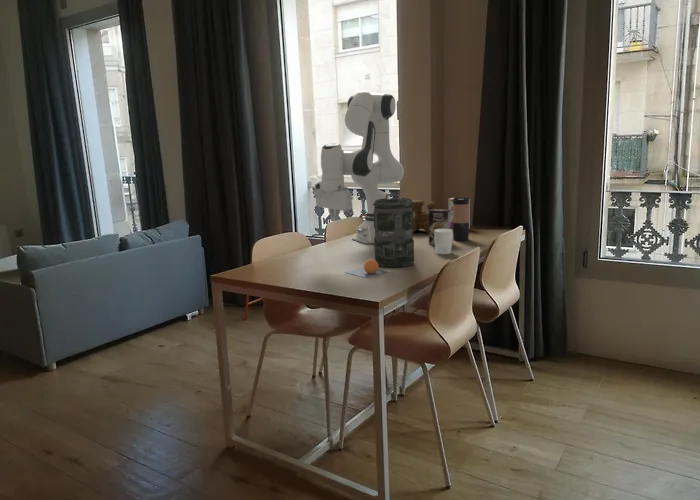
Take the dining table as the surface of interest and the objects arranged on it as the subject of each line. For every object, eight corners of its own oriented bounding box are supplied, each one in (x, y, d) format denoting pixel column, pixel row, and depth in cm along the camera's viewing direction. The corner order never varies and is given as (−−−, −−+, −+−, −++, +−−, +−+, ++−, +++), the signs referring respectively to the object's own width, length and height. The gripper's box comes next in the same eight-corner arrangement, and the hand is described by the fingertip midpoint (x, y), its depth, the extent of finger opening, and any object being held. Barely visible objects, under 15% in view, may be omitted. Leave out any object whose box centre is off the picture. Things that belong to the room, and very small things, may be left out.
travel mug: (469, 238, 261) (470, 197, 257) (468, 241, 254) (468, 199, 250) (454, 238, 264) (454, 197, 260) (451, 240, 257) (451, 199, 253)
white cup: (452, 254, 227) (452, 231, 225) (433, 254, 229) (433, 231, 227) (452, 251, 235) (452, 228, 233) (434, 251, 236) (434, 228, 234)
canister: (422, 262, 215) (421, 193, 210) (396, 270, 204) (395, 197, 199) (392, 257, 226) (390, 191, 221) (366, 264, 215) (364, 195, 210)
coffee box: (428, 244, 250) (428, 210, 247) (431, 242, 256) (431, 208, 253) (447, 245, 247) (447, 210, 244) (450, 242, 253) (450, 208, 250)
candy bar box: (447, 228, 291) (447, 198, 288) (452, 227, 295) (452, 197, 291) (465, 230, 284) (465, 199, 280) (470, 229, 287) (470, 198, 284)
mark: (344, 272, 204) (344, 271, 204) (368, 267, 211) (368, 266, 211) (364, 278, 195) (364, 277, 195) (389, 272, 202) (389, 271, 202)
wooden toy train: (400, 233, 284) (400, 202, 280) (407, 229, 294) (407, 199, 291) (437, 234, 276) (437, 202, 272) (443, 230, 286) (443, 199, 282)
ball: (367, 258, 196) (371, 273, 196) (379, 256, 200) (383, 270, 199) (359, 262, 201) (363, 276, 200) (371, 260, 204) (375, 274, 203)
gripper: (355, 186, 205) (356, 221, 208) (324, 183, 221) (326, 216, 224) (342, 188, 201) (343, 224, 205) (312, 184, 217) (314, 218, 220)
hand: (334, 219), depth 214 cm, fingers closed
